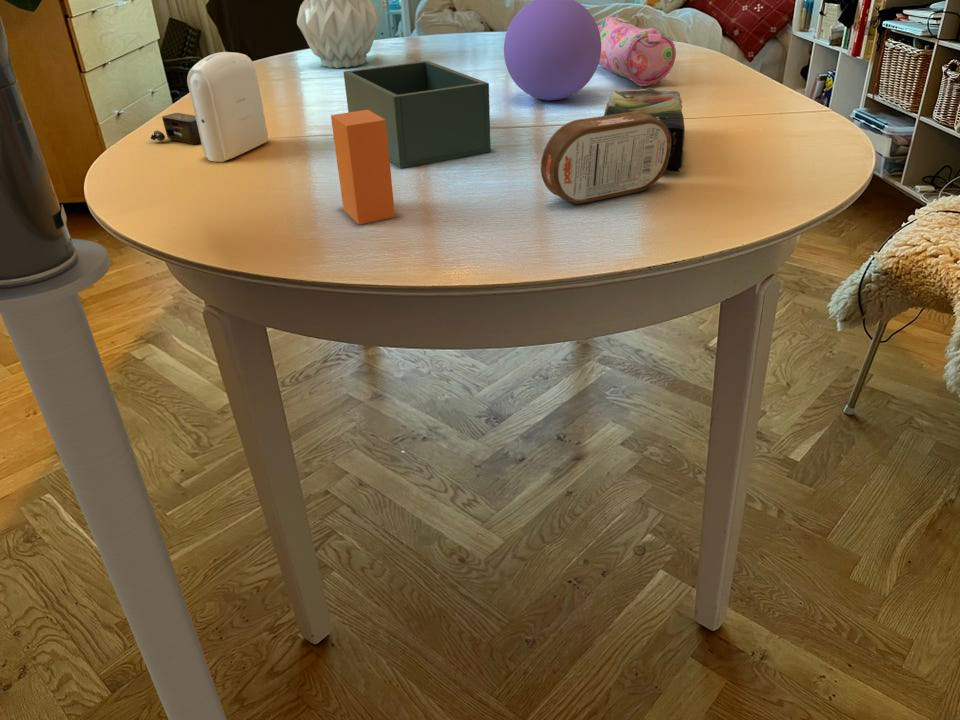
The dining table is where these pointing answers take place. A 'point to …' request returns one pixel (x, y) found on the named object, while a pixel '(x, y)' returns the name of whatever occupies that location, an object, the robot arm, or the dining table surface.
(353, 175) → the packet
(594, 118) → the tin
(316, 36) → the vase
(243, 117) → the photo printer
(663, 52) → the pencil case
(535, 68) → the decorative ball
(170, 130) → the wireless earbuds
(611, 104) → the juice carton
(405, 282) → the dining table surface
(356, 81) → the trash bin
